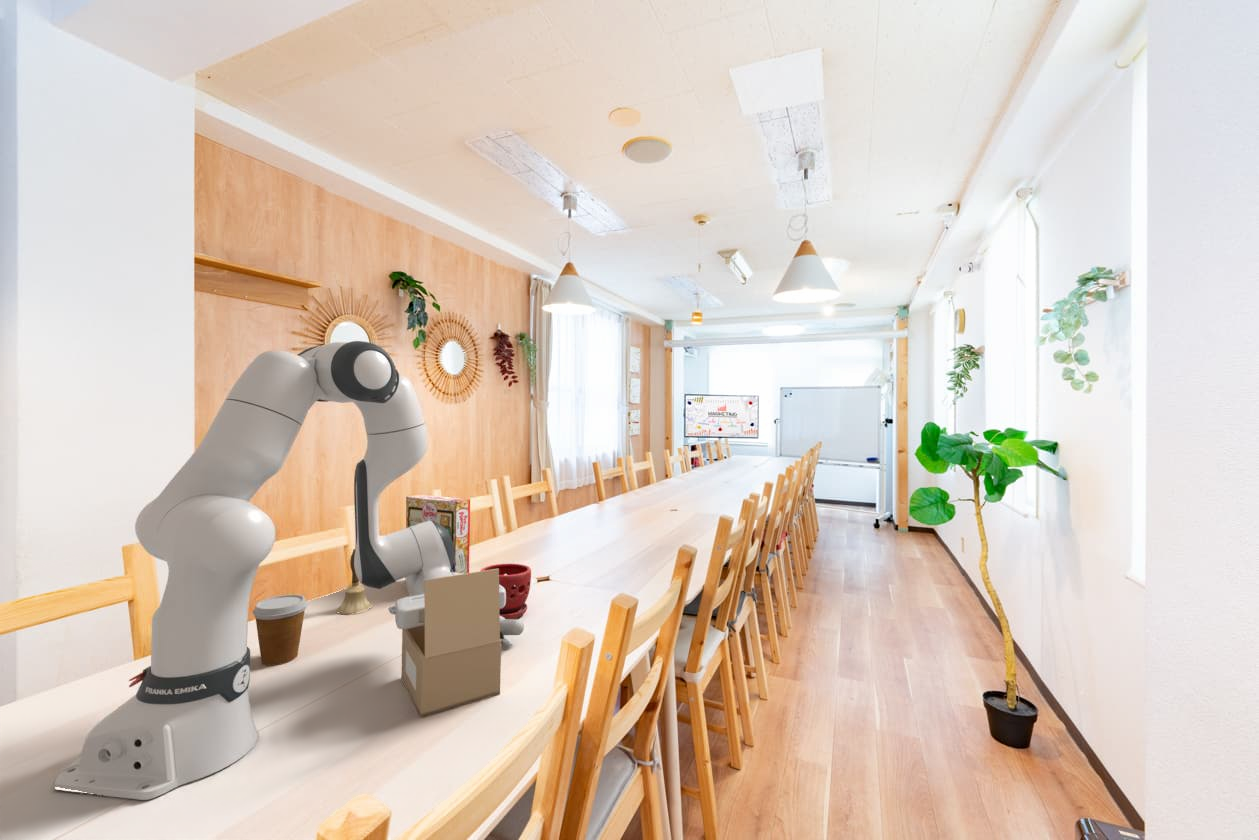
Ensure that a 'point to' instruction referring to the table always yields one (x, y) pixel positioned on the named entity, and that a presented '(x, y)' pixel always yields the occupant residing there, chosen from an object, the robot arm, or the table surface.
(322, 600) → the table surface
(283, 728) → the table surface
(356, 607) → the hand bell
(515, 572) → the plant pot
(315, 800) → the table surface
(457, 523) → the board game box
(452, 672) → the carton
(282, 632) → the disposable coffee cup
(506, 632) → the clip-on lamp
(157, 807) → the table surface
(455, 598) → the carton flap
